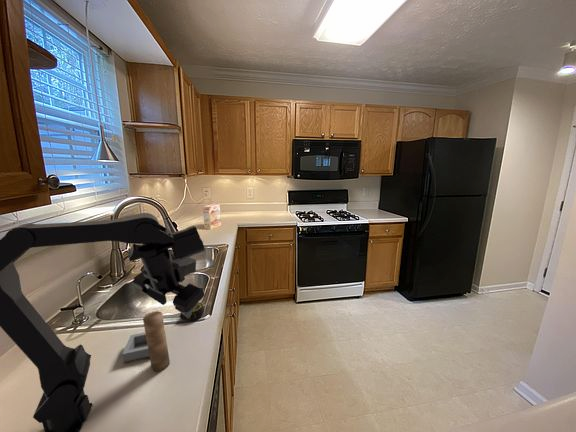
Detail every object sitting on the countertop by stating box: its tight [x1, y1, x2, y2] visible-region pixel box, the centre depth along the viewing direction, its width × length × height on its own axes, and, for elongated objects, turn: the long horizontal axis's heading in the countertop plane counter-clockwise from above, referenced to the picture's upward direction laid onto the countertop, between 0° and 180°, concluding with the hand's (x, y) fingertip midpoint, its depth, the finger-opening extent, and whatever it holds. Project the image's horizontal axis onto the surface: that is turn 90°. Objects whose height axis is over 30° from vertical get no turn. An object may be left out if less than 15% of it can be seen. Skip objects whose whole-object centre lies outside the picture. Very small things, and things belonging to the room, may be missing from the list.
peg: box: [142, 310, 171, 373], centre depth 64 cm, size 4×4×15 cm
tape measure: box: [179, 302, 205, 321], centre depth 87 cm, size 7×7×4 cm
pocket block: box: [121, 331, 150, 364], centre depth 71 cm, size 8×8×3 cm
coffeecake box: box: [202, 203, 222, 230], centre depth 209 cm, size 15×7×20 cm, turn 159°
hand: (176, 309), depth 64 cm, fingers open, 9 cm apart
